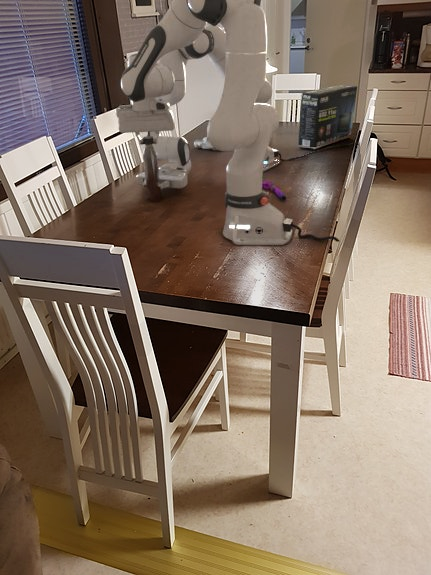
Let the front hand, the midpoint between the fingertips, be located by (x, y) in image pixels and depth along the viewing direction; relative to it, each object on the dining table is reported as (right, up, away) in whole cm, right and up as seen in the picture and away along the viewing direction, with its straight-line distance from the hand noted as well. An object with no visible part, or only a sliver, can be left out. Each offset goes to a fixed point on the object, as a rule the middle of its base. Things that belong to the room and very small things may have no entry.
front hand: (148, 143), depth 169 cm
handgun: (+46, -15, +13) cm, 50 cm away
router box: (+83, +24, +75) cm, 115 cm away
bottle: (+1, -18, +11) cm, 21 cm away
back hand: (0, -14, +7) cm, 16 cm away
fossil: (+22, +22, +77) cm, 83 cm away
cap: (0, +2, -1) cm, 2 cm away
